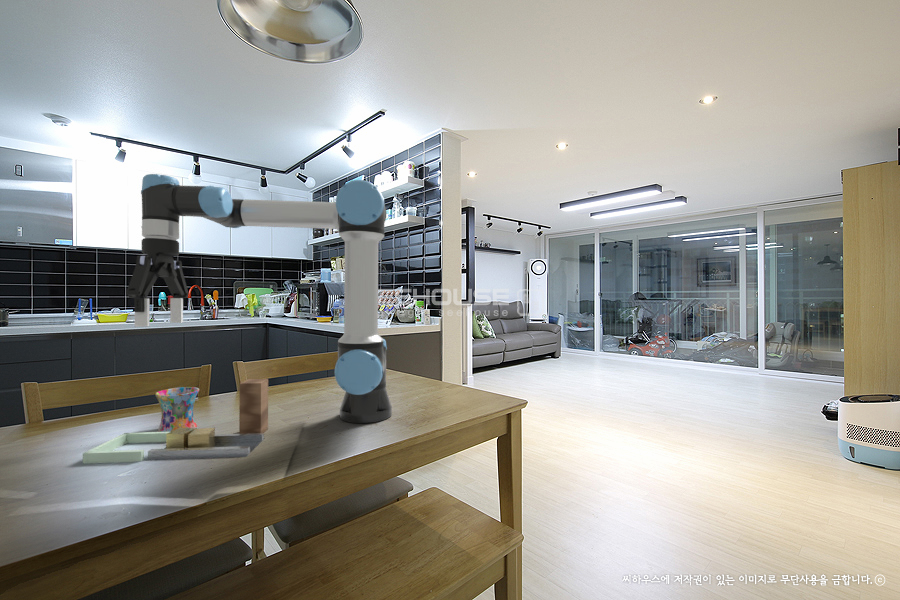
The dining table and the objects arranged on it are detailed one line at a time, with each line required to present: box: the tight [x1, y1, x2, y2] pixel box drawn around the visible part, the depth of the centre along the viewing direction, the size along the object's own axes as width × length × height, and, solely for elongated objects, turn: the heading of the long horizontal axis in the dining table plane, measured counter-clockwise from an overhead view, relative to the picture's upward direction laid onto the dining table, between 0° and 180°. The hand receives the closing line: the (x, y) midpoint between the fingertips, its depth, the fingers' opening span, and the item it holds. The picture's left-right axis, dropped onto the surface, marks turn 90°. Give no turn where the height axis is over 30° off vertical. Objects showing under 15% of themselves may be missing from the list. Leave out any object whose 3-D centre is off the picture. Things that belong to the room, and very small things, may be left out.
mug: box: [154, 386, 200, 432], centre depth 102 cm, size 12×9×11 cm
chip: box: [165, 427, 198, 449], centre depth 87 cm, size 4×4×4 cm
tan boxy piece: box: [188, 427, 216, 448], centre depth 87 cm, size 4×4×4 cm
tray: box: [82, 431, 169, 464], centre depth 86 cm, size 11×12×3 cm
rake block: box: [238, 378, 269, 434], centre depth 98 cm, size 5×5×14 cm
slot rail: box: [145, 433, 265, 461], centre depth 88 cm, size 20×11×2 cm, turn 96°
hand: (160, 324), depth 97 cm, fingers open, 13 cm apart
